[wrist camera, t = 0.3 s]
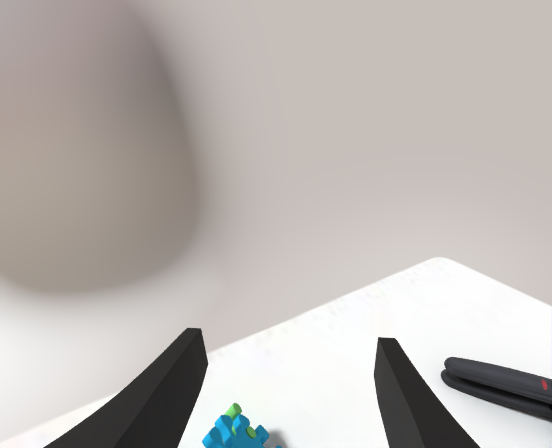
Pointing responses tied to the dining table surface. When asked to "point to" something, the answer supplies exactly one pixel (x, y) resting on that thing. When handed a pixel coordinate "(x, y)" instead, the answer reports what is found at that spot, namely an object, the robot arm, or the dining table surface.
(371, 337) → the dining table surface
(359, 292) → the dining table surface
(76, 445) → the robot arm
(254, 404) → the dining table surface
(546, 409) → the can opener
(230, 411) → the gear
